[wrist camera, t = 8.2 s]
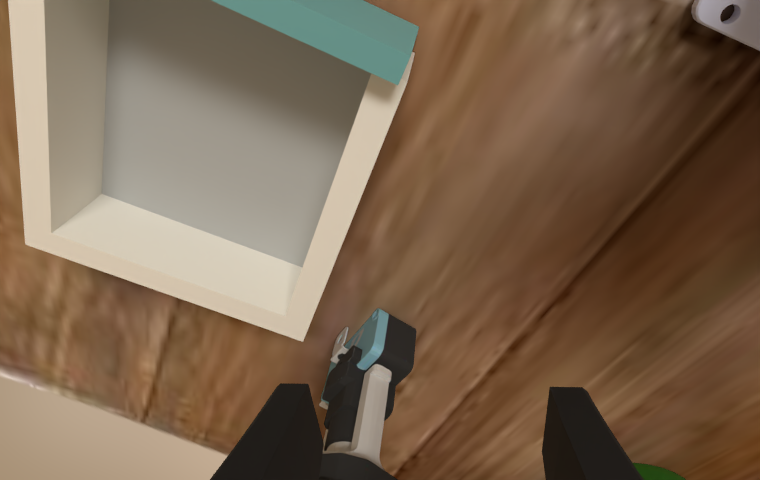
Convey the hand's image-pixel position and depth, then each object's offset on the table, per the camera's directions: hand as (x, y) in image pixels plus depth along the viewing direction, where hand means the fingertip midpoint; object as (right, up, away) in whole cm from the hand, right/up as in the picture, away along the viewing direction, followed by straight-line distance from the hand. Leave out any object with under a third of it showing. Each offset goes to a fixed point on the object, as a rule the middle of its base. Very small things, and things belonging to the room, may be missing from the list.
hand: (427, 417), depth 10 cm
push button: (-2, -2, +14) cm, 14 cm away
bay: (-7, +8, +8) cm, 13 cm away
